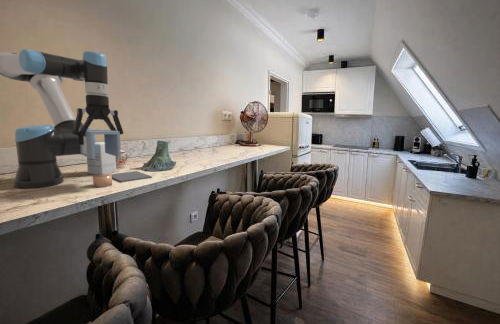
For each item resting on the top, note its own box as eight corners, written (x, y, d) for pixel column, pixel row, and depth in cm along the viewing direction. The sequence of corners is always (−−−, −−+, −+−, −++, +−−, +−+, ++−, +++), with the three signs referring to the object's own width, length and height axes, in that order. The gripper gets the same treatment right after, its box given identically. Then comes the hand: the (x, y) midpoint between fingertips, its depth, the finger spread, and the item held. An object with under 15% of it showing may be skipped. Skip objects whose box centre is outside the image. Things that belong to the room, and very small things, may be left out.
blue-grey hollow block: (80, 154, 100) (79, 129, 98) (107, 152, 107) (106, 129, 105) (92, 159, 91) (90, 131, 89) (120, 156, 98) (119, 131, 96)
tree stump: (131, 170, 133) (135, 137, 134) (156, 172, 152) (159, 144, 153) (160, 172, 127) (163, 137, 129) (182, 174, 146) (184, 144, 148)
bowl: (91, 184, 100) (90, 175, 100) (108, 182, 105) (108, 173, 105) (96, 188, 96) (95, 178, 95) (114, 185, 101) (114, 175, 100)
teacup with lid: (114, 169, 132) (113, 147, 130) (103, 167, 135) (102, 146, 134) (133, 166, 142) (132, 146, 140) (122, 164, 146) (122, 144, 144)
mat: (107, 176, 116) (106, 174, 116) (136, 172, 127) (136, 171, 127) (120, 182, 106) (120, 180, 106) (151, 177, 116) (151, 176, 116)
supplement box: (102, 170, 128) (101, 141, 126) (116, 171, 126) (115, 142, 124) (87, 173, 120) (84, 143, 117) (102, 175, 117) (100, 144, 115)
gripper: (63, 91, 84) (69, 155, 88) (131, 97, 101) (133, 151, 105) (58, 92, 89) (63, 153, 93) (123, 98, 106) (125, 149, 109)
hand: (100, 152), depth 99 cm, fingers closed on blue-grey hollow block, 10 cm apart
